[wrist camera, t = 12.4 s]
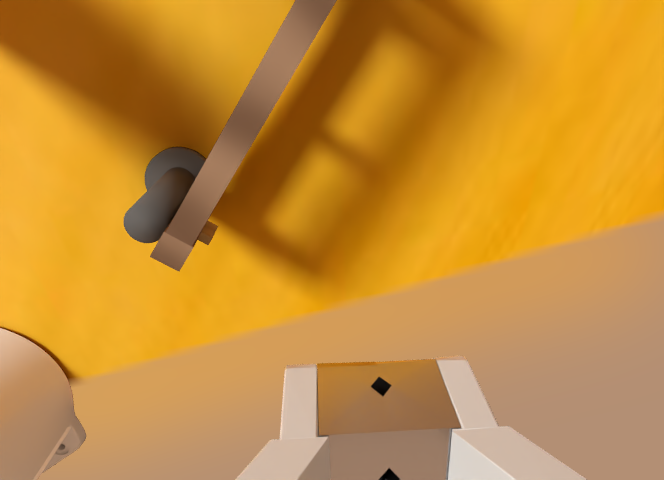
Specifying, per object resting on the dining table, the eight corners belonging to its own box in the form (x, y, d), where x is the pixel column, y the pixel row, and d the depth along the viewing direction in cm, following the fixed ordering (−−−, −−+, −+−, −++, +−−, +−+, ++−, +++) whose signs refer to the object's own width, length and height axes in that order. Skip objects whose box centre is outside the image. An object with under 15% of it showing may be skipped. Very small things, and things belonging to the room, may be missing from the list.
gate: (335, -59, 30) (345, -95, 21) (369, -33, 30) (393, -56, 22) (188, 201, 36) (149, 256, 27) (219, 218, 37) (191, 277, 28)
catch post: (189, 223, 38) (156, 277, 30) (134, 182, 36) (83, 227, 28) (229, 177, 36) (205, 221, 28) (173, 132, 35) (132, 165, 27)
